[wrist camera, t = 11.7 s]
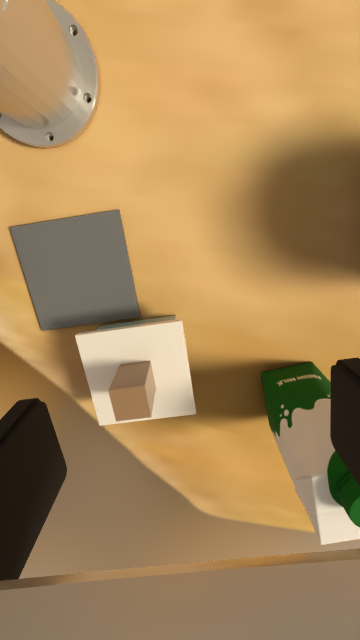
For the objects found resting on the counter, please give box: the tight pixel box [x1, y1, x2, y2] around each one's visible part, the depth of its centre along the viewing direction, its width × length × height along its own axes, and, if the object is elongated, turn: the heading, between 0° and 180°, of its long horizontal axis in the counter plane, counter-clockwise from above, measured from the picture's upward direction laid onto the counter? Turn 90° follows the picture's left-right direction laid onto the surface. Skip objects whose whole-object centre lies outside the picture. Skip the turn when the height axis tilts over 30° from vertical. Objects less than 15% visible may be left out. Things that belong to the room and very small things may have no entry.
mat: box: [10, 210, 140, 331], centre depth 37 cm, size 13×13×1 cm
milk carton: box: [261, 362, 360, 545], centre depth 32 cm, size 9×9×20 cm
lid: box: [75, 319, 196, 425], centre depth 32 cm, size 12×12×6 cm
